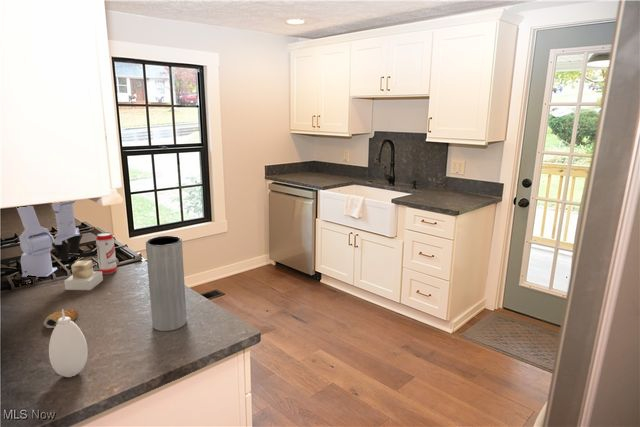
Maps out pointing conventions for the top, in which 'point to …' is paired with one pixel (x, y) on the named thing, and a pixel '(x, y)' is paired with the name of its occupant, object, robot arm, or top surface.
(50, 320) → the pastry
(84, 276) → the maple cube
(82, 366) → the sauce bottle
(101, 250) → the beer can
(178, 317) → the vase
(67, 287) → the white block
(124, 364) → the top surface
